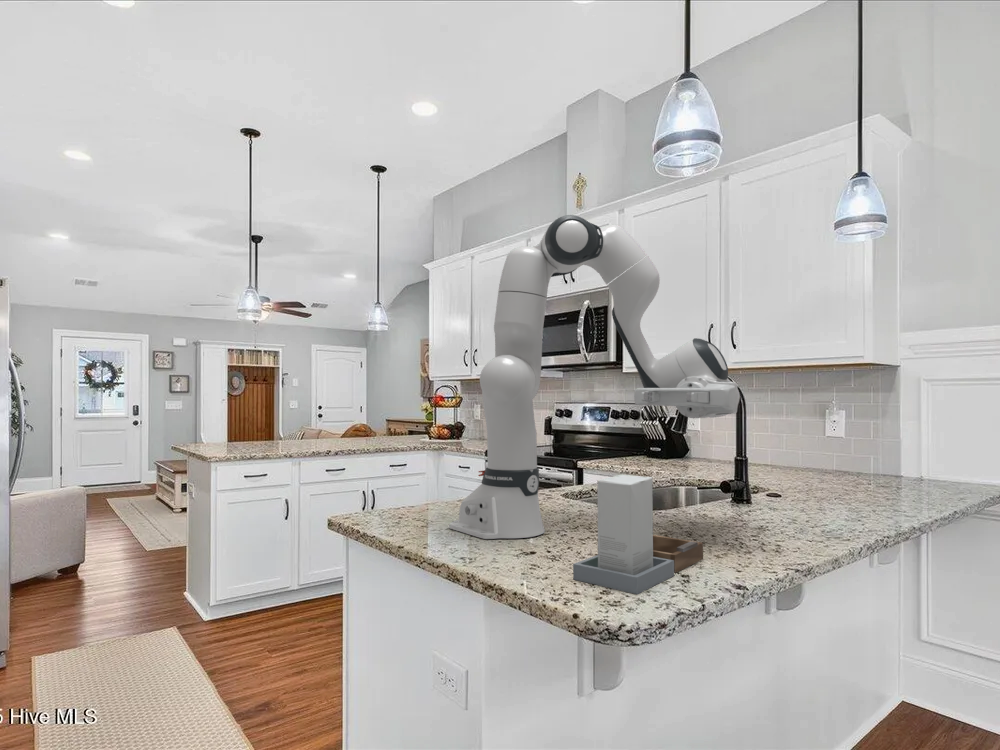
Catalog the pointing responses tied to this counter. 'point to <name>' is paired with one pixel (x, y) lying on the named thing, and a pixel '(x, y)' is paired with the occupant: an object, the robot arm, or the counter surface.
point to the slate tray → (623, 575)
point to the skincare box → (625, 524)
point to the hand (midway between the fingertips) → (666, 396)
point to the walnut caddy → (677, 551)
